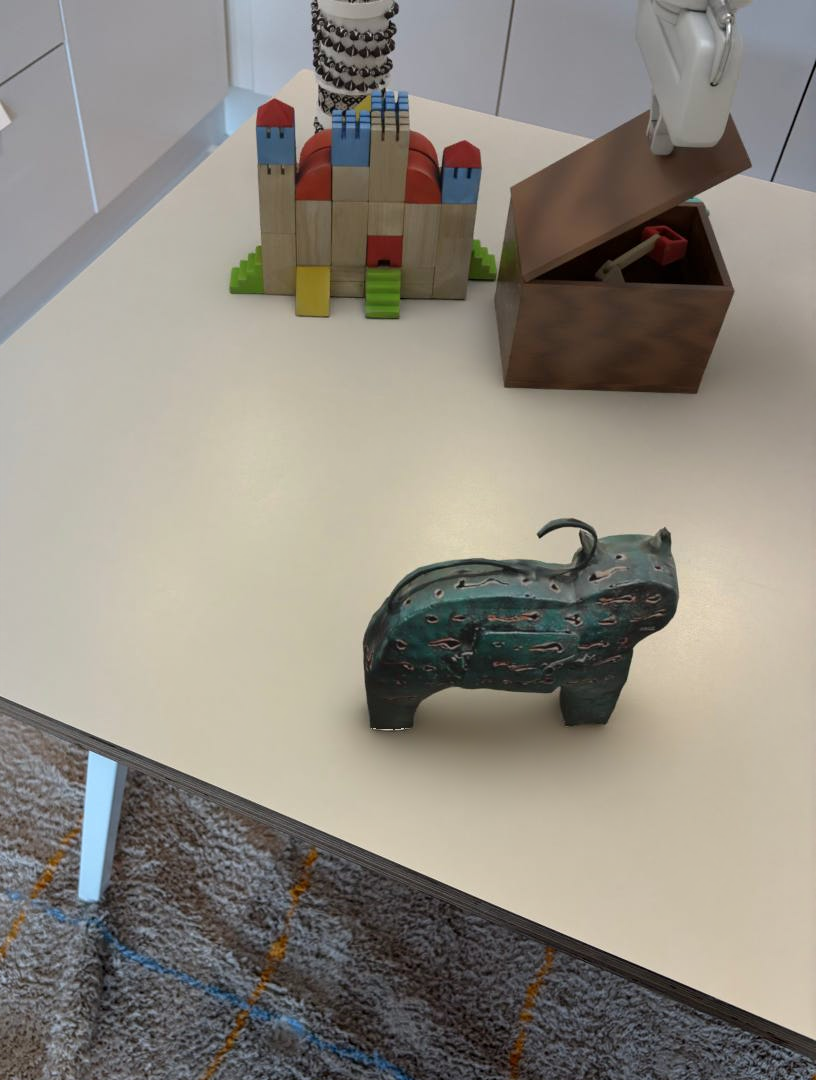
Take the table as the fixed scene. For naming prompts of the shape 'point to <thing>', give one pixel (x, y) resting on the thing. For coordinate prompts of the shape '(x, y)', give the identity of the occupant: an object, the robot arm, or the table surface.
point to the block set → (363, 212)
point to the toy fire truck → (646, 252)
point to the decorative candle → (350, 53)
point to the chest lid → (612, 191)
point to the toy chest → (615, 313)
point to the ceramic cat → (521, 626)
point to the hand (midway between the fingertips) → (657, 146)
